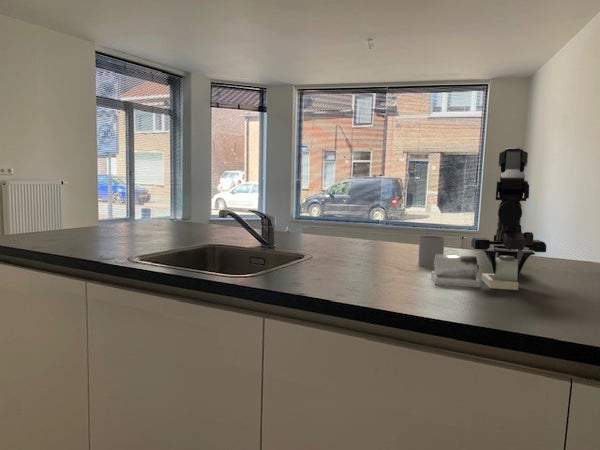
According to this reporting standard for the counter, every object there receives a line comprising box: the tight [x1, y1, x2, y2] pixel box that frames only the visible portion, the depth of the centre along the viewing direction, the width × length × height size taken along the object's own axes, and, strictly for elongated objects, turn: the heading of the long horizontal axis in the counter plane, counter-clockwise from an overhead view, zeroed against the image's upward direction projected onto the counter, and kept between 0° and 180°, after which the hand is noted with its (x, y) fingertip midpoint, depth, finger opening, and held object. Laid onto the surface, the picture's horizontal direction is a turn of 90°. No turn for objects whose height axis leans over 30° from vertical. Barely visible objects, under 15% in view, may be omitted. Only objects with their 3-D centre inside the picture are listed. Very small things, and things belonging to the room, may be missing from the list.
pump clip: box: [481, 273, 519, 291], centre depth 121 cm, size 7×10×2 cm
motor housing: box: [431, 254, 481, 288], centre depth 123 cm, size 12×10×8 cm
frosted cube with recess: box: [494, 256, 518, 282], centre depth 120 cm, size 6×6×6 cm
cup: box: [418, 235, 445, 268], centre depth 149 cm, size 8×8×10 cm
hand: (505, 274), depth 121 cm, fingers closed on frosted cube with recess, 6 cm apart
